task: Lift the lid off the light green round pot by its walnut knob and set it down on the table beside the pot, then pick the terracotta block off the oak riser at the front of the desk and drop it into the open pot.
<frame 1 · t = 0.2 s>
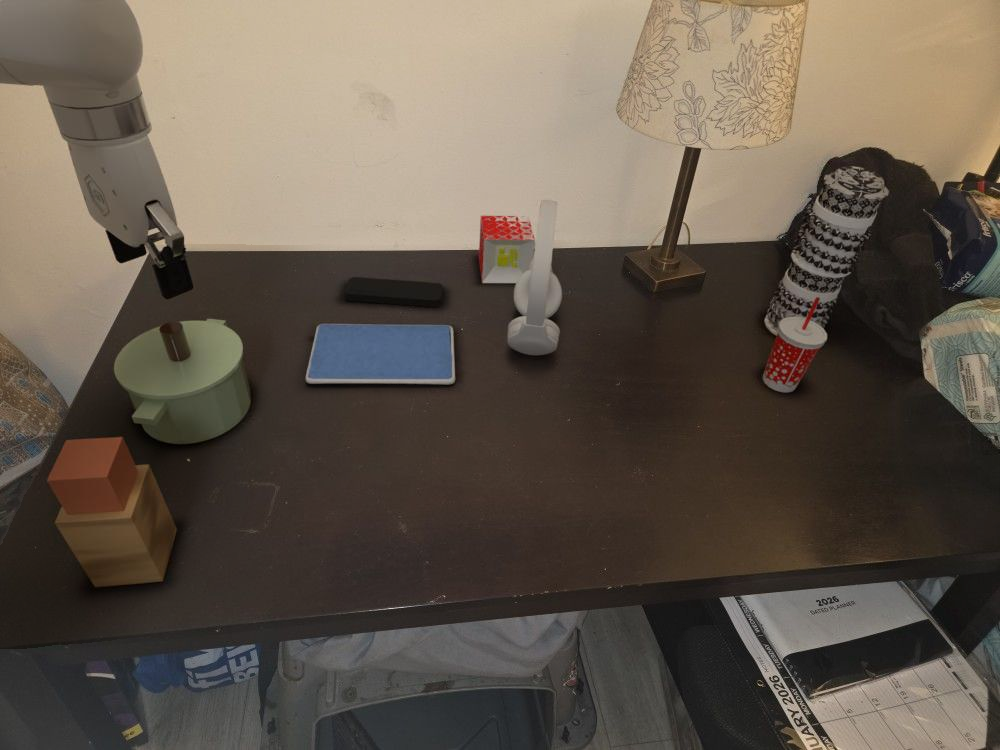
hand: (154, 275, 70), 17 cm above the table, tool pointing down, fingers open, 9 cm apart
decorative candle: (791, 328, 101), on the table
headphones: (532, 336, 95), on the table
light green round pot: (196, 406, 79), on the table
riser: (137, 557, 63), on the table
beverage cup: (778, 382, 91), on the table
remote control: (394, 296, 100), on the table
bowl lid: (181, 359, 75), point 7 cm above the table, touching light green round pot
block: (103, 492, 57), point 10 cm above the table, touching riser
tablet: (384, 358, 89), on the table
red and white cube: (504, 271, 108), on the table
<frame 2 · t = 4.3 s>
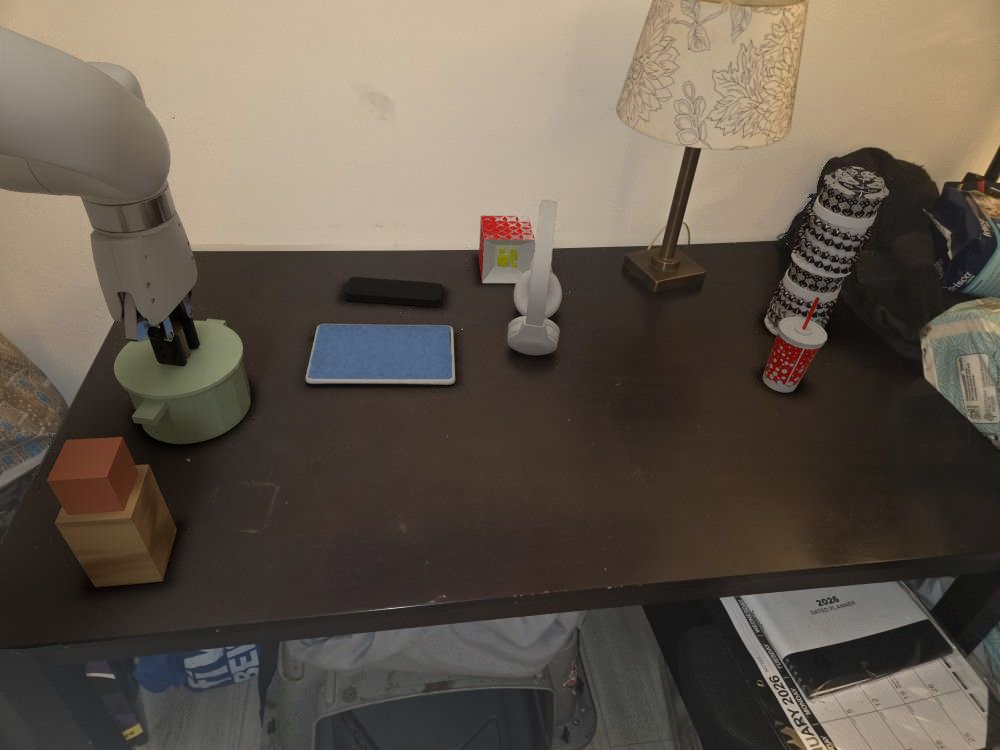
hand: (179, 353, 74), 8 cm above the table, tool pointing down, fingers closed on bowl lid, 2 cm apart
bowl lid: (181, 359, 75), point 8 cm above the table, touching light green round pot, gripper
everything else where it was.
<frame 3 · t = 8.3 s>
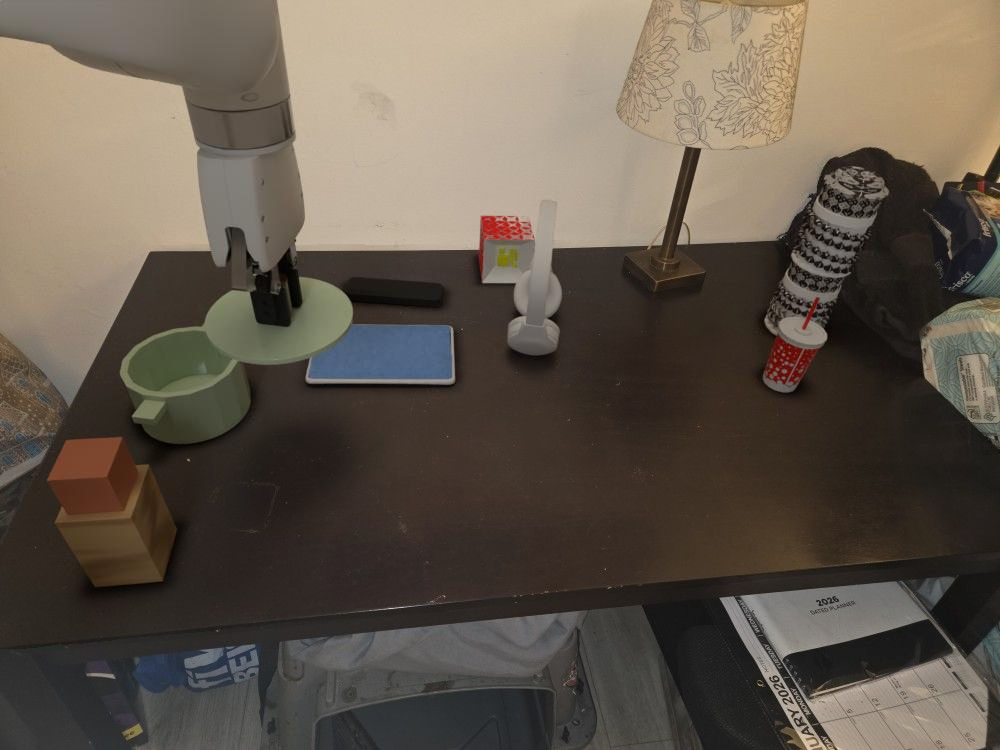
hand: (280, 312, 62), 20 cm above the table, tool pointing down, fingers closed on bowl lid, 2 cm apart
bowl lid: (281, 319, 62), point 19 cm above the table, touching gripper
everything else where it was.
when the fingers open (1 cm above the table, at t = 12.4 s): bowl lid stays where it is, point 1 cm above the table.
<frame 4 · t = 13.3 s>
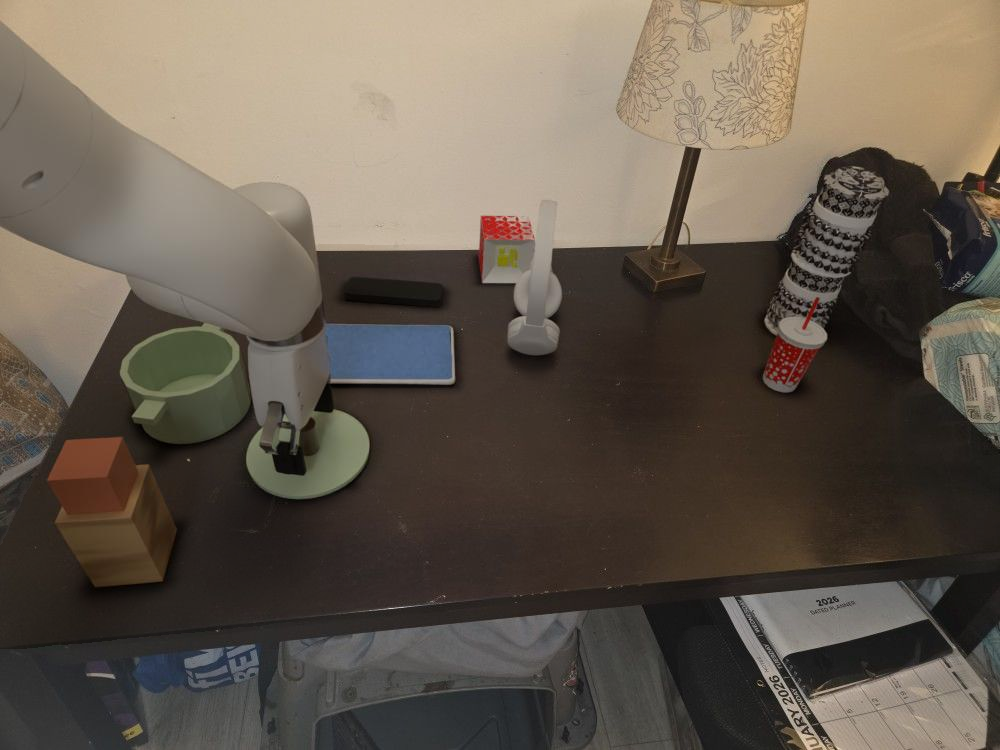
hand: (306, 439, 73), 3 cm above the table, tool pointing down, fingers open, 9 cm apart
bowl lid: (309, 452, 74), point 1 cm above the table
everything else where it was.
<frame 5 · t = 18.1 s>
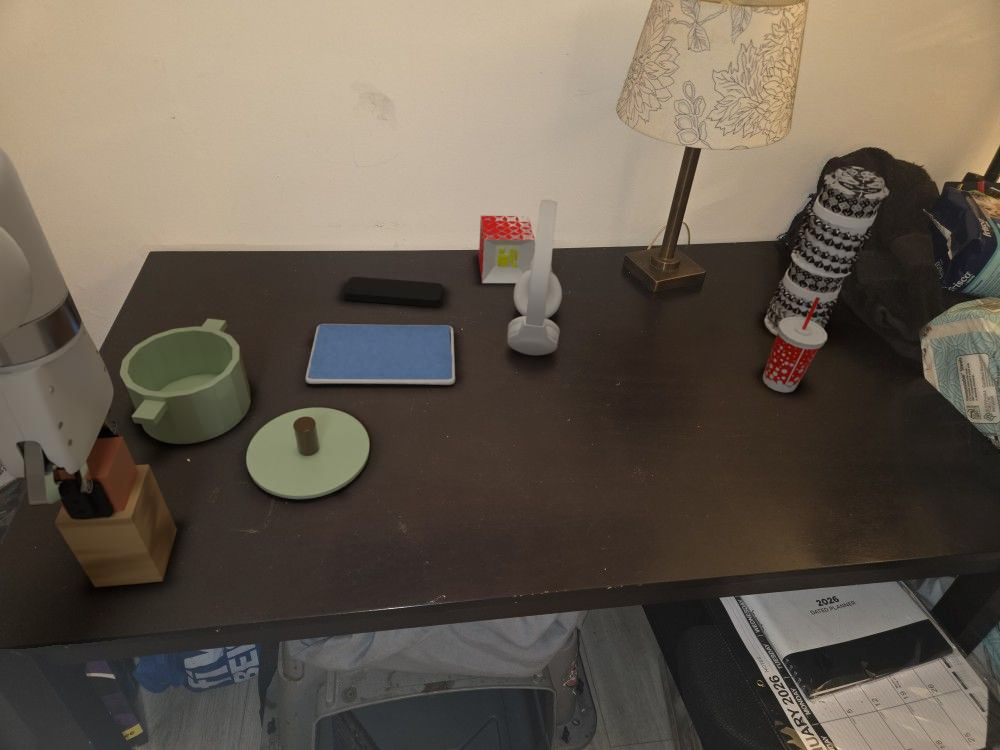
hand: (102, 489, 57), 10 cm above the table, tool pointing down, fingers closed on block, 4 cm apart
block: (103, 492, 57), point 10 cm above the table, touching gripper, riser
everything else where it was.
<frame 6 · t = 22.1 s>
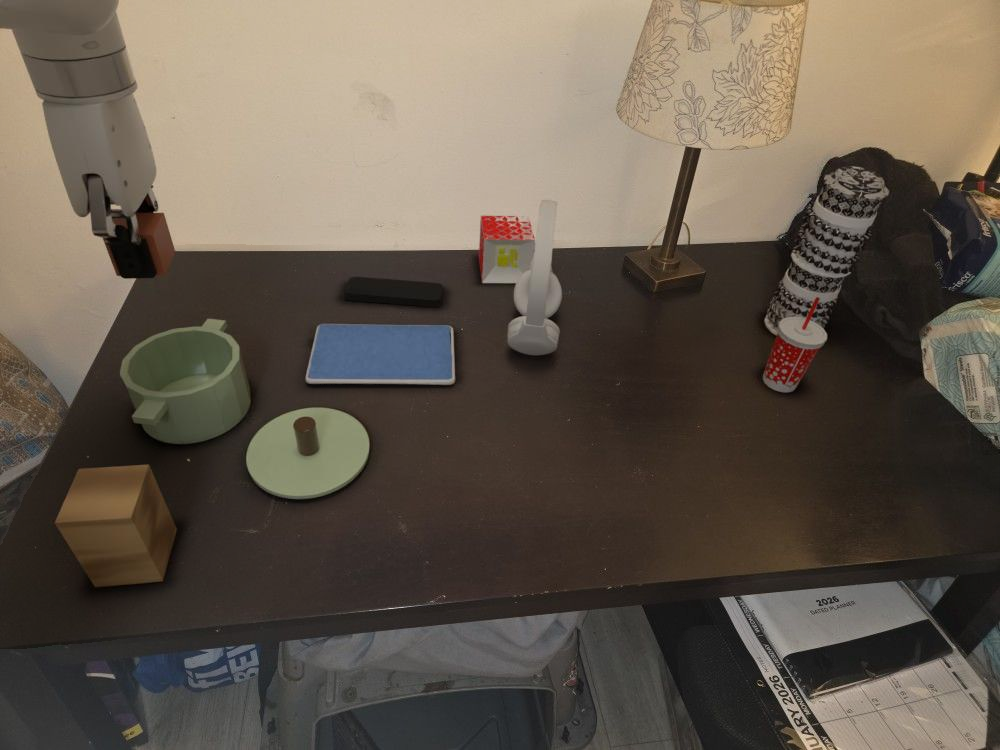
hand: (146, 260, 65), 21 cm above the table, tool pointing down, fingers closed on block, 4 cm apart
block: (147, 263, 66), point 21 cm above the table, touching gripper
everything else where it was.
when the fingers open (6 cm above the table, at t = 25.9 s): block drops 5 cm, resting on light green round pot.
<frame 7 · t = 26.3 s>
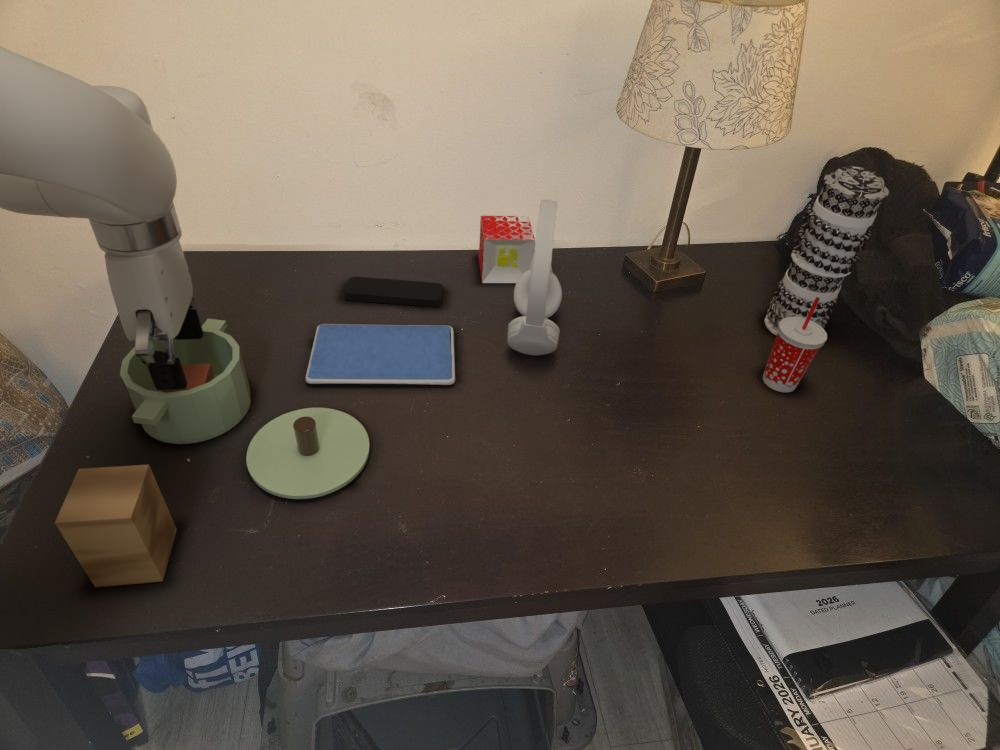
hand: (181, 361, 75), 7 cm above the table, tool pointing down, fingers open, 8 cm apart
block: (195, 404, 79), point 1 cm above the table, touching light green round pot
everything else where it was.
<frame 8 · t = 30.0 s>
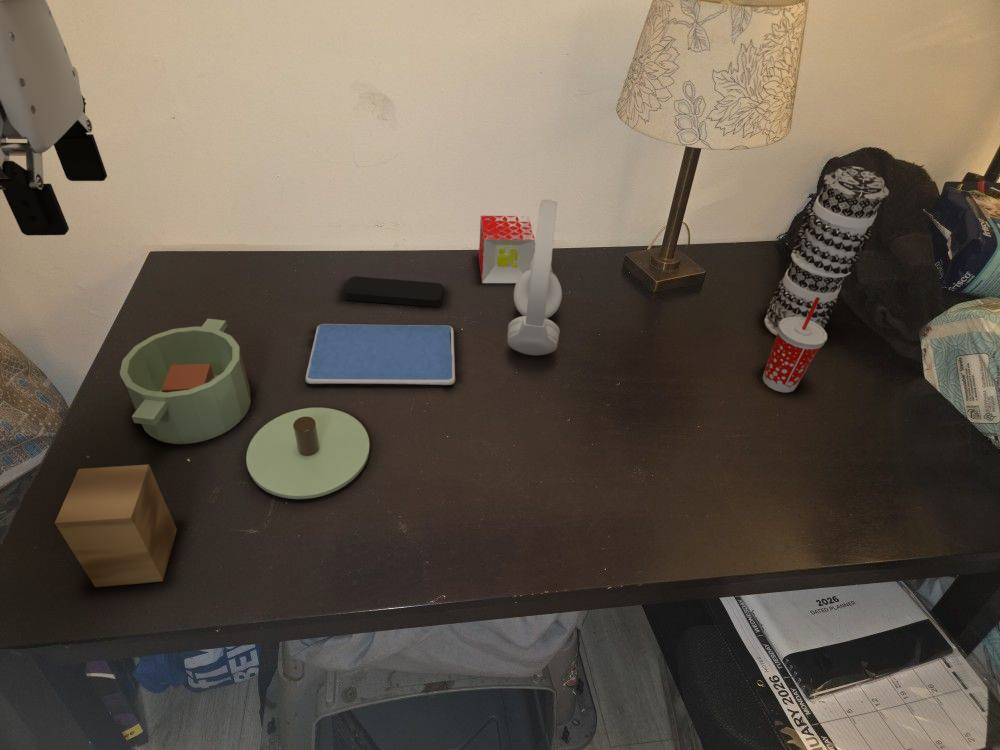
hand: (68, 204, 54), 30 cm above the table, tool pointing down, fingers open, 9 cm apart
nothing on the table moved.
at the end: bowl lid point 0.6 cm above the table; bowl lid inside the target area (0.0 cm from its centre), point 0.6 cm above the table; block inside the target area in the light green round pot (0.1 cm from its centre), point 0.5 cm above the light green round pot's base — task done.
